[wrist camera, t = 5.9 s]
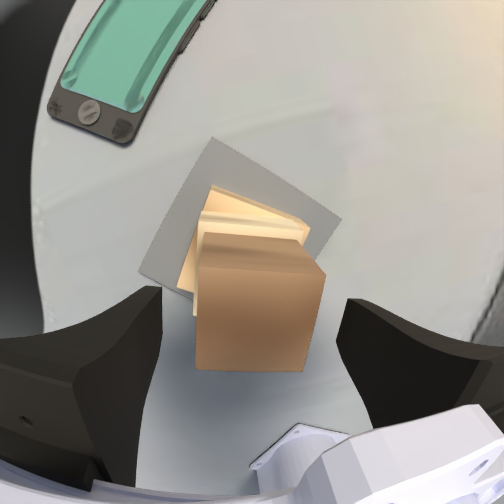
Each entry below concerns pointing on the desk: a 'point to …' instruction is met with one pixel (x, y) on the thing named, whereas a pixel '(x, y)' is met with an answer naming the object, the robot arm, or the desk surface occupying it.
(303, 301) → the walnut cube
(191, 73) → the desk surface
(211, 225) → the beech block
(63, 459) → the robot arm
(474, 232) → the desk surface
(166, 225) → the slate coaster
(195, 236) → the oak slab
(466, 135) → the desk surface
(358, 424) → the desk surface
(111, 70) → the smartphone
